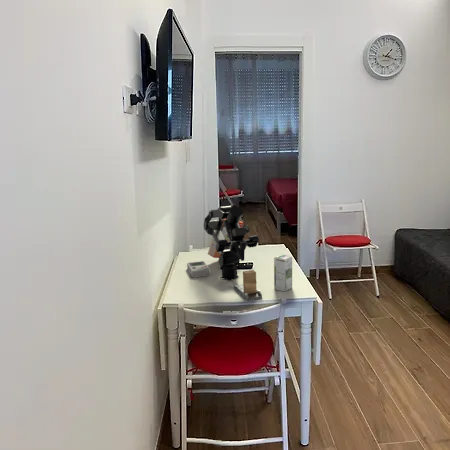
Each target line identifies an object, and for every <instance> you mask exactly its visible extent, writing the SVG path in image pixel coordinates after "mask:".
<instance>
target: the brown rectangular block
mask: <svg viewBox="0 0 450 450" xmlns="http://www.w3.org/2000/svg"><path fill="white" fill-rule="evenodd" d="M242 281H243V282H242V284H243V289H244V293H246V292H247V294H252V293H257V290H258V289H257V271H255V270H254V269H252V270H251V269H250V270H244V271H242Z"/></svg>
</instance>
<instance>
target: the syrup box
mask: <svg viewBox="0 0 450 450" xmlns="http://www.w3.org/2000/svg"><path fill="white" fill-rule="evenodd" d="M273 278H274V281H273V284H274V285H273V287H274V288H273V289H274V290H276V291H282V292H287V291H289V290H290V289H292V288H293V256H292V255H287V254H282V253H281V254H280V255H277V256H275V257H274V258H273Z"/></svg>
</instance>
